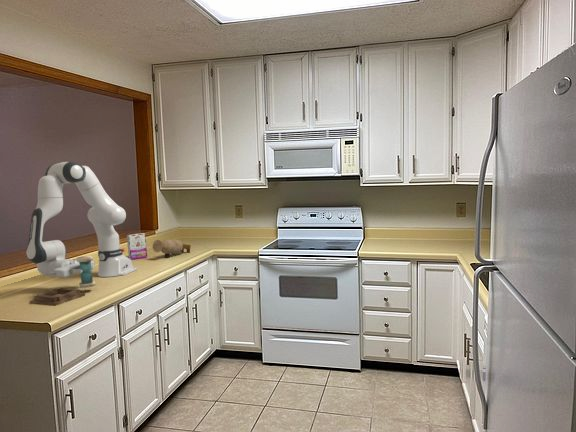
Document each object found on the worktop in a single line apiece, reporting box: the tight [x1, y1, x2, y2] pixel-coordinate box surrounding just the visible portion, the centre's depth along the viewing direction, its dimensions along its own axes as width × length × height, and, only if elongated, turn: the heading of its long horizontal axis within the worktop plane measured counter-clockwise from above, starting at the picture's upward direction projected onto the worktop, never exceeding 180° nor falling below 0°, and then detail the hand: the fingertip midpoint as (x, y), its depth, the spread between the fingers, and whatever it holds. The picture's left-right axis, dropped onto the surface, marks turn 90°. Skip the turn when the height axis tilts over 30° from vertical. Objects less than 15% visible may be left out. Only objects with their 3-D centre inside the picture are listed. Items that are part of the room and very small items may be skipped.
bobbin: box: [76, 255, 96, 289], centre depth 217 cm, size 7×7×14 cm
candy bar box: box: [126, 232, 148, 261], centre depth 300 cm, size 11×5×16 cm, turn 126°
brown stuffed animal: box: [152, 238, 191, 259], centre depth 303 cm, size 10×12×30 cm
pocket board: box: [29, 287, 85, 306], centre depth 206 cm, size 16×16×3 cm
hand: (87, 269), depth 217 cm, fingers closed on bobbin, 5 cm apart
